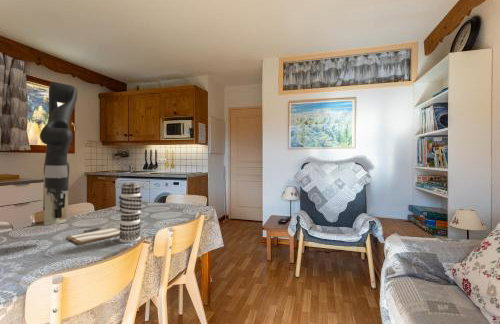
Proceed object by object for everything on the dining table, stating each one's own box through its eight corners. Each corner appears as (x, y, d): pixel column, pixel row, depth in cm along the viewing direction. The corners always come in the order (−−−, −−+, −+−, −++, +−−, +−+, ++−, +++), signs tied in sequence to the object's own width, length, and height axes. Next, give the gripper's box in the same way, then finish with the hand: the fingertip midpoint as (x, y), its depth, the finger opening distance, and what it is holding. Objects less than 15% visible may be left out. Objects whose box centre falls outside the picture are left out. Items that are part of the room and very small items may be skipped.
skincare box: (52, 226, 102) (52, 195, 102) (43, 225, 103) (43, 195, 102) (66, 222, 108) (67, 193, 108) (58, 221, 109) (59, 192, 109)
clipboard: (66, 238, 112) (66, 233, 112) (112, 228, 128) (112, 224, 128) (79, 245, 104) (79, 240, 104) (127, 234, 120) (127, 229, 120)
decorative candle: (129, 243, 107) (130, 184, 106) (113, 240, 110) (114, 183, 110) (145, 237, 115) (146, 182, 115) (130, 235, 119) (131, 181, 118)
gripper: (39, 175, 106) (38, 215, 107) (51, 178, 98) (50, 221, 98) (60, 174, 112) (60, 212, 113) (73, 177, 104) (72, 218, 104)
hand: (55, 216), depth 105 cm, fingers closed on skincare box, 5 cm apart
